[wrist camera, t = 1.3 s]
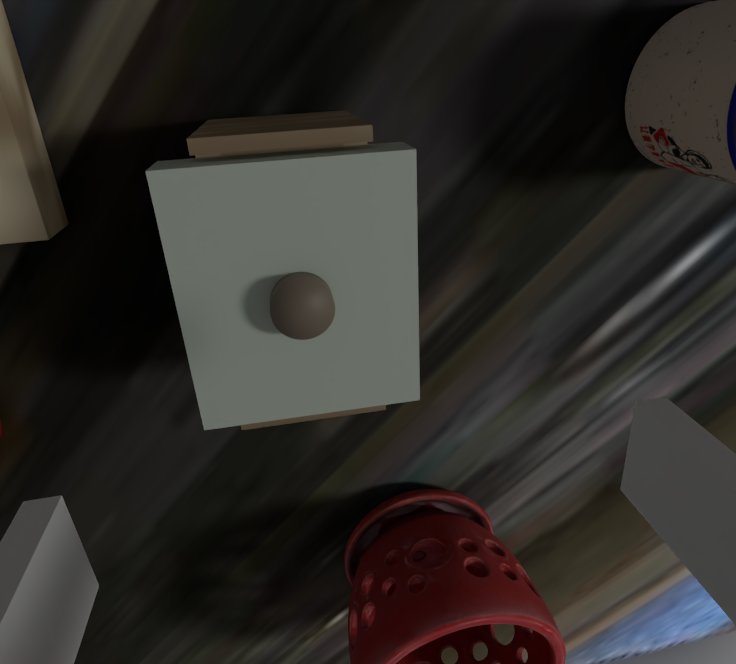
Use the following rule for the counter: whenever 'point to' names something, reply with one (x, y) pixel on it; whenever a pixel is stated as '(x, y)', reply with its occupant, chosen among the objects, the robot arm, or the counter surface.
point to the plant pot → (440, 587)
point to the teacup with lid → (688, 93)
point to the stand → (23, 157)
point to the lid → (294, 278)
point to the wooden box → (277, 137)
